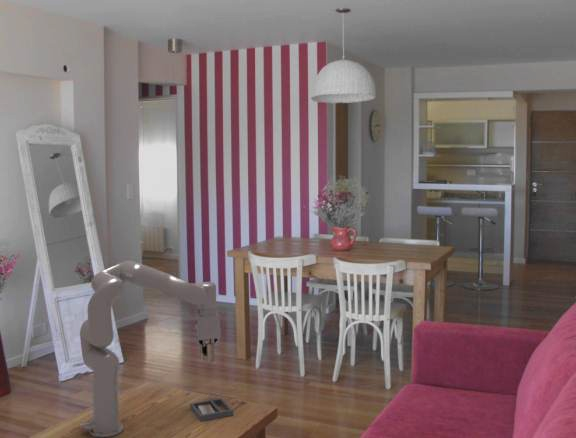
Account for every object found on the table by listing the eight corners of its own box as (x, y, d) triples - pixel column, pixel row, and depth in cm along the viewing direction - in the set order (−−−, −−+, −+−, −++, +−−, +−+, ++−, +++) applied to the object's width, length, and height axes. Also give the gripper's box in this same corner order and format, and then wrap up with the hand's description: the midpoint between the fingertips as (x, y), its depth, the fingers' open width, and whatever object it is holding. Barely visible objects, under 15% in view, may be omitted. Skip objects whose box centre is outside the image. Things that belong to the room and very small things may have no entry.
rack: (200, 423, 257) (200, 416, 256) (190, 410, 269) (190, 403, 269) (233, 417, 262) (233, 410, 262) (221, 405, 275) (221, 398, 275)
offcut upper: (203, 418, 259) (203, 415, 259) (198, 409, 268) (198, 405, 268) (215, 417, 261) (215, 413, 261) (210, 407, 270) (210, 404, 270)
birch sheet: (200, 358, 281) (209, 362, 271) (199, 341, 282) (208, 345, 271) (205, 357, 282) (214, 361, 271) (204, 341, 283) (213, 344, 272)
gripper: (191, 315, 267) (192, 359, 269) (228, 311, 274) (228, 354, 275) (186, 311, 274) (187, 354, 276) (222, 307, 280) (222, 349, 282)
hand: (207, 354), depth 276 cm, fingers closed on birch sheet, 1 cm apart
